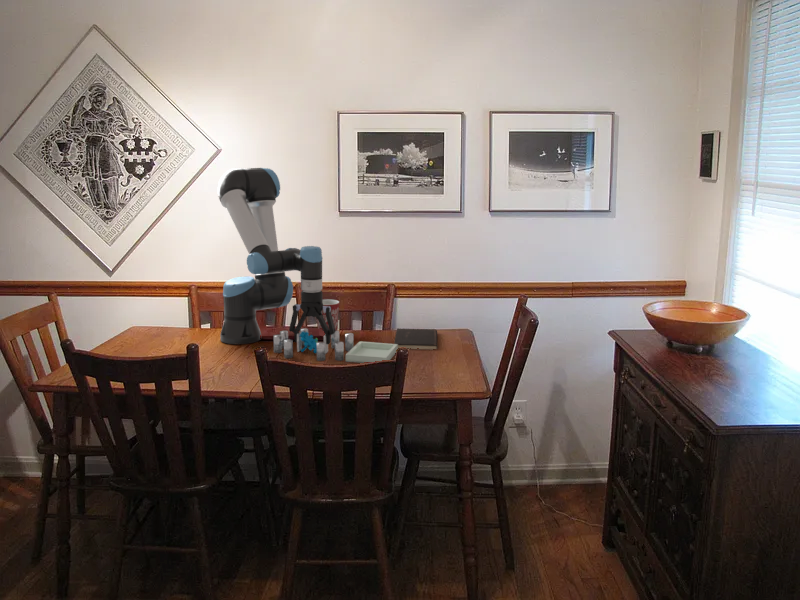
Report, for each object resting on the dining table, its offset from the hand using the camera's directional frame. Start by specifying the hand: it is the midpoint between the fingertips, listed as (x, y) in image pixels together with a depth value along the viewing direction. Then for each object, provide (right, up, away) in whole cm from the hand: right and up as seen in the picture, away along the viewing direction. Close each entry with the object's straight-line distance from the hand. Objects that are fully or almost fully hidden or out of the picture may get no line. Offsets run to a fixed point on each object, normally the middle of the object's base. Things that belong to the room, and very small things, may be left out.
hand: (312, 351), depth 259 cm
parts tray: (+22, -1, -4) cm, 22 cm away
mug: (+4, +5, +24) cm, 25 cm away
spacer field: (0, 0, 0) cm, 0 cm away
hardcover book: (+38, +2, +17) cm, 41 cm away
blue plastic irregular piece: (0, 0, 0) cm, 1 cm away
